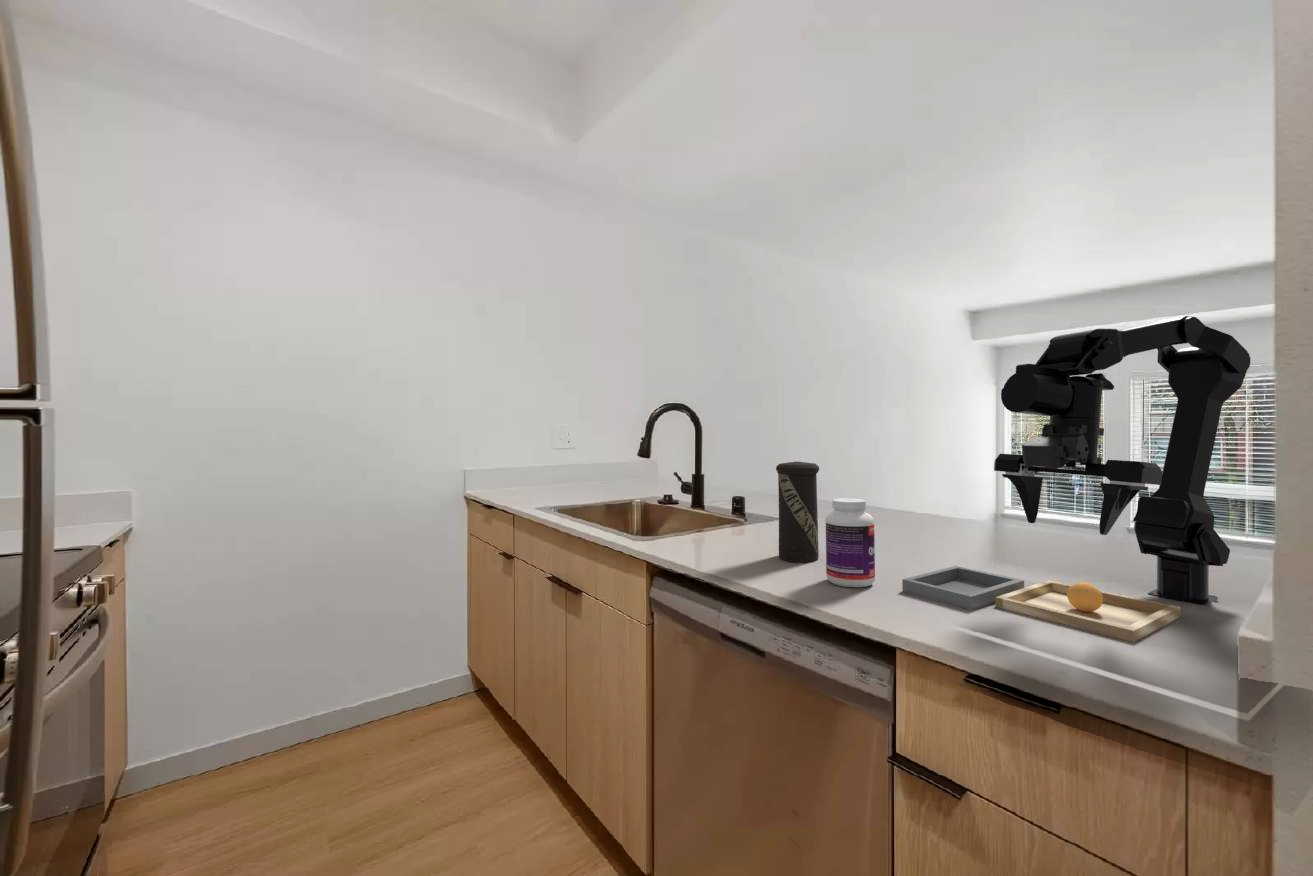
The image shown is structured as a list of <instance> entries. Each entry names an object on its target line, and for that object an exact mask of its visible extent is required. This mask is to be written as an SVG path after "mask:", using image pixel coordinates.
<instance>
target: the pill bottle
mask: <svg viewBox="0 0 1313 876" xmlns="http://www.w3.org/2000/svg"><path fill="white" fill-rule="evenodd" d="M832 508H833V511H832V512H830V513H828V514H827V515H826V516H825V575H826V578H827V580H828V581H829V583H832V584H834V585H836V586H838V587H839V586H840V587H844V588H864V587H865V588H866V587H869V586H872V585H873V583H874V582H875V581H876V556H875V555H876V552H875V551H876V549H875V548H876V547H875V544H876V543H875V541H876V539H875V538H876V537H875V520H874V517H873V516H872V515H871V514H870V513H868V512H866V510H867V500H865V499H862V498H851V497H849V498H848V497H841V498H833V499H832Z"/></svg>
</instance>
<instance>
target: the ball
mask: <svg viewBox="0 0 1313 876" xmlns="http://www.w3.org/2000/svg"><path fill="white" fill-rule="evenodd" d="M1071 585H1072V586H1071V587H1070V588H1069V589H1068V592H1067V597H1068V600H1069V602H1070V603H1071V605H1072V606H1073V607H1075V608H1076V609H1078V610H1081V611H1084V612H1092V611H1095V610H1097V609H1099V608H1100V607H1101V605H1102V603H1103V596H1102V594H1101V592H1100V591H1101V590H1100V591H1099V588H1097V587H1096V586H1095V585H1094V584H1091V583H1089V582H1081V581H1080V582H1075V583H1074V584H1071Z"/></svg>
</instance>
